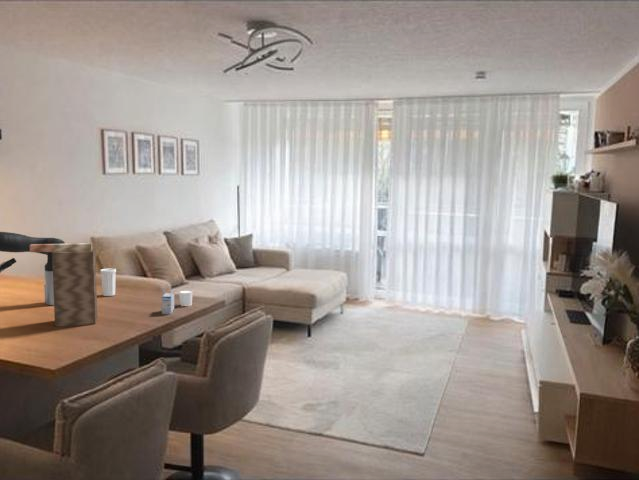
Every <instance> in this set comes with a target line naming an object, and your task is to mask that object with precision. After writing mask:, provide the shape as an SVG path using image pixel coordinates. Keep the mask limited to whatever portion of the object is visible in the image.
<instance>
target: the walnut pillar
mask: <svg viewBox="0 0 639 480" xmlns="http://www.w3.org/2000/svg"><path fill="white" fill-rule="evenodd" d="M96 260H97V259H96V248H92V251H65V252H53V253H52V266H53V290H54V305H53V310H54V327H72V326H73V327H74V326H87V325H97V324H96V323H97V320H98V297H97V296H98V293H97V290H98V289H97V267H96V266H97V265H96V264H97V261H96Z"/></svg>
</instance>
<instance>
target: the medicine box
mask: <svg viewBox="0 0 639 480" xmlns="http://www.w3.org/2000/svg"><path fill="white" fill-rule="evenodd" d="M173 310H174V311H175V293H174V292H173V293H172V292H165V293H164V294H163V295H162V296H161V315H172V314H173V312H174V311H173Z"/></svg>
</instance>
